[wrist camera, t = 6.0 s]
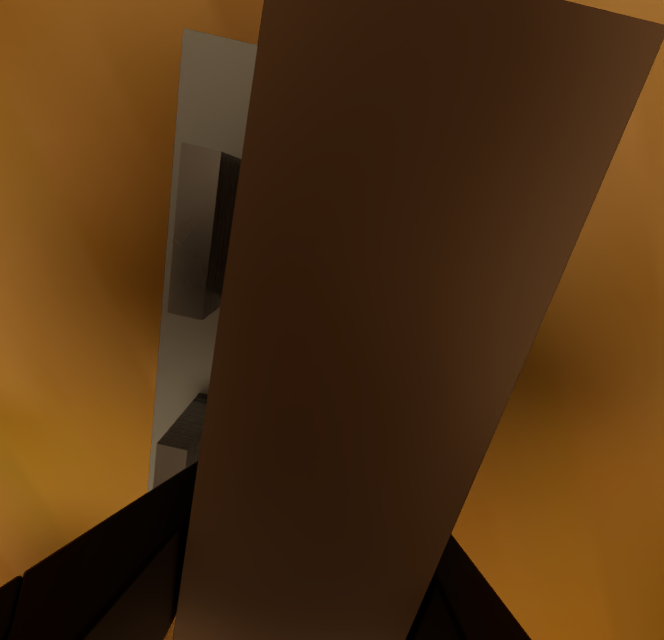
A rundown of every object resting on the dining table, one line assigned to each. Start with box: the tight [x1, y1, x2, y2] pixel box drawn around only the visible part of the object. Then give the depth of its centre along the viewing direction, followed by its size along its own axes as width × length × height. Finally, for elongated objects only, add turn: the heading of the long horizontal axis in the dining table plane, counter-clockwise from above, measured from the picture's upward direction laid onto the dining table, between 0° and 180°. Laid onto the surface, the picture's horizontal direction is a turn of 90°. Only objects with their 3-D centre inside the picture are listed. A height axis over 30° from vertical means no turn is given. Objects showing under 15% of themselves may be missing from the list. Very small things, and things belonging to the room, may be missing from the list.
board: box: [148, 28, 258, 492], centre depth 13 cm, size 12×18×1 cm, turn 168°
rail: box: [173, 0, 664, 640], centre depth 7 cm, size 4×15×4 cm, turn 167°
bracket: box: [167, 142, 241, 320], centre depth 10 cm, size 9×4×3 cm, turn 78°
